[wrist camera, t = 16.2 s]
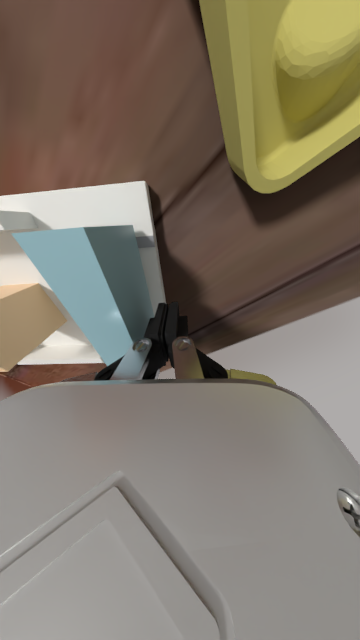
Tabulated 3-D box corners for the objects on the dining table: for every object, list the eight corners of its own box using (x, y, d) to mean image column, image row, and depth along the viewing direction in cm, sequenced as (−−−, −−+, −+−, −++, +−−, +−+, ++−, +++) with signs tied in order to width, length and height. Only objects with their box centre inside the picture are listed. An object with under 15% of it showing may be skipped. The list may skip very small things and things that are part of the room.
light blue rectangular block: (132, 224, 10) (83, 227, 5) (160, 344, 18) (152, 388, 13) (94, 228, 10) (11, 233, 5) (139, 344, 18) (124, 389, 13)
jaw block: (38, 283, 13) (-88, 336, 7) (67, 320, 16) (-4, 380, 10) (3, 285, 14) (-149, 338, 7) (38, 322, 17) (-49, 381, 10)
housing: (147, 184, 9) (133, 168, 7) (172, 346, 20) (171, 365, 18) (-109, 211, 11) (-211, 207, 8) (44, 349, 22) (23, 368, 19)
